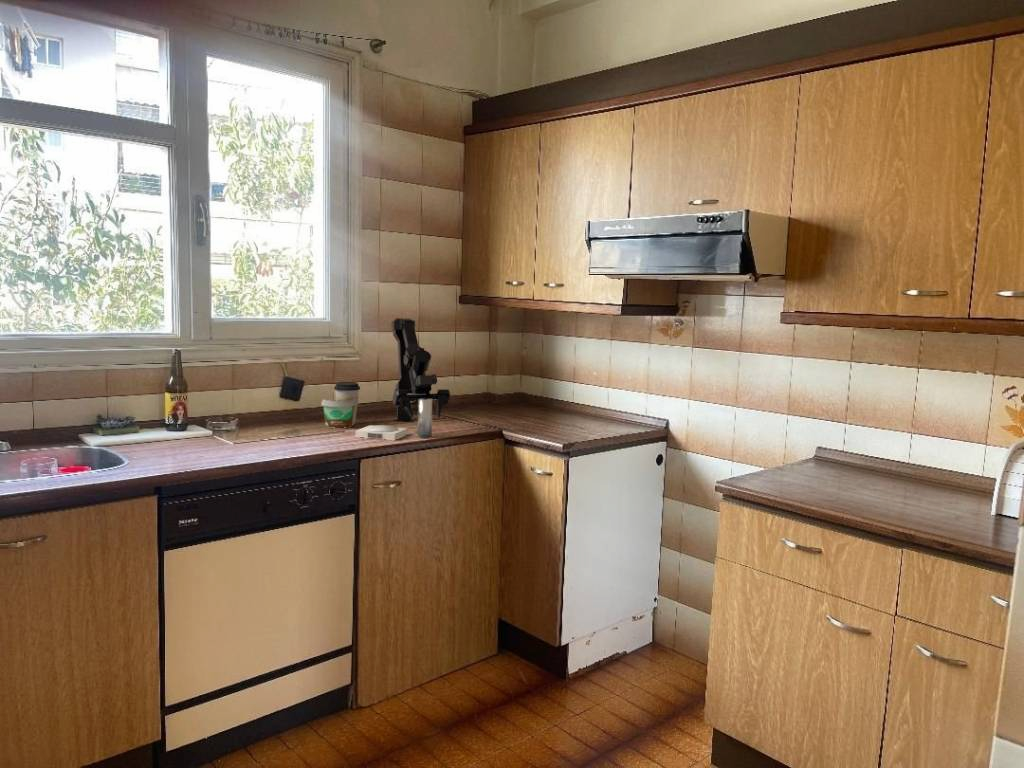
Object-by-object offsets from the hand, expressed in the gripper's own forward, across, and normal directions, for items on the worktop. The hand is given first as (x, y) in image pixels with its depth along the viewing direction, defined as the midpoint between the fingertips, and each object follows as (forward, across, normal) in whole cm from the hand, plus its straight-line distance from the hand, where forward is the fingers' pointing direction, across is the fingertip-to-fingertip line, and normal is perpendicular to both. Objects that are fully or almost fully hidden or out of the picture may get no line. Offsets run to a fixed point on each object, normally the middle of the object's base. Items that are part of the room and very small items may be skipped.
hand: (425, 416), depth 252 cm
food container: (-12, -26, +22) cm, 36 cm away
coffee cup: (-17, -22, +27) cm, 39 cm away
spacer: (+4, 0, +6) cm, 7 cm away
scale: (+1, -14, +9) cm, 17 cm away
